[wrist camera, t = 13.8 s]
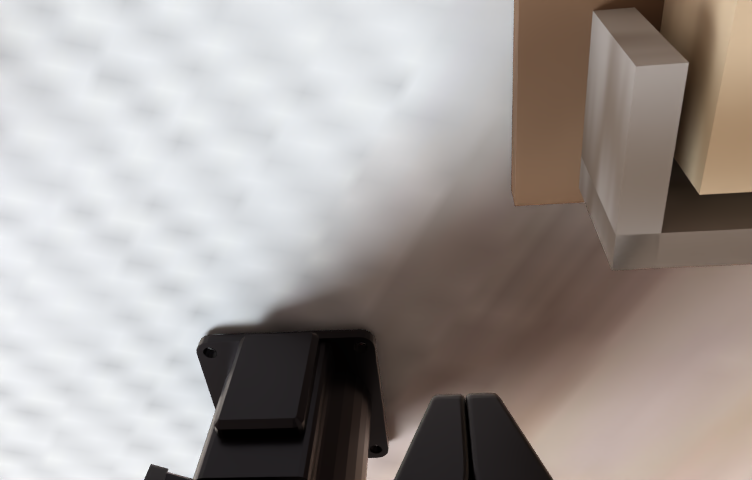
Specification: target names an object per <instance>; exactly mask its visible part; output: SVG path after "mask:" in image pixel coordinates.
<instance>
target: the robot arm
mask: <svg viewBox="0 0 752 480" xmlns="http://www.w3.org/2000/svg"><path fill="white" fill-rule="evenodd" d="M358 342H362V343H365V345H358V344H357V343H358ZM209 348H213V349H214V350H215V351H214V350H210V349H209ZM197 355H198V358H199V361H200V364H201V367H202V370H203V373H204V376H205V379H206V382H207V385H208V388H209V391H210V394H211V397H212V400H213V403H214V406H215V409H216V410H215V413H214V416H213V419H212V423H211V426H210V429H209V432H208V435H207V438H206V441H205V444H204V447H203V450H202V453H201V456H200V459H199V462H198V465H197V468H196V471H195V474H194V477H193V479H191V478H188V477H184V476H180V475H177V474H173V473H169V472H168V469H167V468H163V467H160V466H156V465H152V464H151V465H150V467H149V470H148V472H147V474H146V477H145V479H144V480H366V475H367V462H368V458H378V457H383V456H385V455H386V454H387V453H388V445H389V440H388V432H387V424H386V417H385V409H384V402H383V394H382V386H381V379H380V371H379V364H378V356H377V348H376V341H375V337H374V335H373V334H372V333H371V332H369V331H367V330H361V329H357V330H330V331H304V332H278V333H252V334H225V335H208V336H204V337H203V338H201V340H200V342H199V345H198V347H197ZM376 445H377V446H376ZM394 480H553V479H552V477H551V475H550V474H549V472H548V471H547V469H546V468H545V466H544V465H543V463H542V462H541V460H540V458H539V457H538V455H537V454H536V452H535V451H534V449H533V448H532V446H531V445H530V443H529V442H528V440H527V438H526V437H525V435H524V434H523V432H522V431H521V429H520V428H519V426H518V425H517V423H516V422H515V420H514V418H513V417H512V415H511V414H510V412H509V411H508V409H507V408H506V406H505V405H504V403H503V401H502V400H501V399H500V397H499V396H498V395H497V394H495V393H475V394H469V395H467V397H466V400H465V398H464V396H463V395H461V394H439V395H435V396H434V397H433V398H432V399H431V401H430V403H429V405H428V407H427V410H426V412H425V414H424V416H423V418H422V420H421V422H420V425H419V427H418V429H417V431H416V433H415V435H414V438H413V440H412V442H411V444H410V446H409V448H408V451H407V453H406V455H405V457H404V459H403V461H402V464H401V466H400V468H399V470H398V472H397V474H396V477H395V479H394Z"/></svg>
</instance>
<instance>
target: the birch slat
mask: <svg viewBox="0 0 752 480" xmlns="http://www.w3.org/2000/svg"><path fill="white" fill-rule="evenodd" d="M660 34H661V35H662V36H663V37H664V38H665V39H666V40H667V41H668V42H669V43H670V44H671V45H672V46H673V47H674V48H675V49H676V50H677V51H678V52H679V53H680V54H681V55H682V56H683V57H684V58H685V59H686V60H687V61H688V62H689V65H688V72H687V78H686V84H685V90H684V96H683V102H682V108H681V114H680V120H679V127H678V133H677V139H676V145H675V151H674V158H675V160H676V161H677V163H678V164H679V166H680V167H681V169H682V170H683V172H684V173H685V174H686V176H687V177H688V179H689V180H690V182H691V183H692V185H693V186H694V187H695V189H696V190H697V192H698V193H699V195H703V194H722V193H740V192H752V0H664V8H663V15H662V22H661V30H660Z"/></svg>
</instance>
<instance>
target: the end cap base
mask: <svg viewBox="0 0 752 480" xmlns="http://www.w3.org/2000/svg"><path fill="white" fill-rule="evenodd" d="M663 8H664V0H514V42H513V106H512V170H511V191H512V195H513V199H514V204H515V206H525V205H543V204H562V203H580V202H585V204H586V207H587V209H588V212H589V214H590V217H591V219H592V222H593V225H594V227H595V230H596V232H597V235H598V237H599V240H600V242H601V245H602V247H603V250H604V252H605V255H606V257H607V260H608V262H609V265H610V267H611V270H633V269H655V268H677V267H699V266H721V265H744V264H752V192H740V193H722V194H703V195H699V193H698V192H697V190H696V189H695V187H694V186H693V185H692V183H691V182H690V180H689V179H688V177H687V176H686V174H685V173H684V172H683V170H682V169H681V167H680V166H679V164H678V163H677V161H676V160H675V158H674V151H675V145H676V139H677V133H678V127H679V120H680V114H681V108H682V102H683V96H684V90H685V84H686V78H687V72H688V65H689V62H688V61H687V60H686V59H685V58H684V57H683V56H682V55H681V54H680V53H679V52H678V51H677V50H676V49H675V48H674V47H673V46H672V45H671V44H670V43H669V42H668V41H667V40H666V39H665V38H664V37H663V36H662V35H661V34H660V30H661V22H662V15H663Z"/></svg>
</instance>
